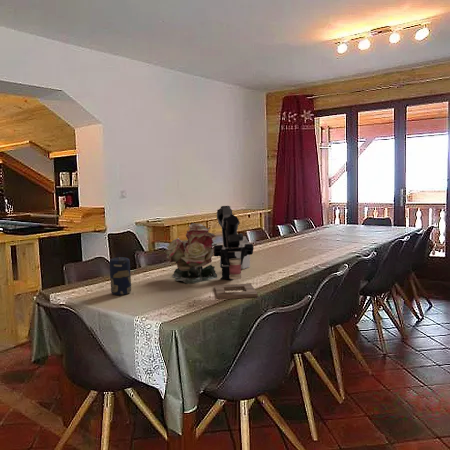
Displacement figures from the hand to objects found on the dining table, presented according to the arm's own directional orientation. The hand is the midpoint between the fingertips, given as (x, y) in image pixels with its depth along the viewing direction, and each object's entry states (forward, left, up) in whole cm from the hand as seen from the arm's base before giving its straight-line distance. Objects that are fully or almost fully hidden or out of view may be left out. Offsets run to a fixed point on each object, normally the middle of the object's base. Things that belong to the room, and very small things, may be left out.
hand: (235, 264), depth 205 cm
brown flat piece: (-1, +1, -13) cm, 14 cm away
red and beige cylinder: (-1, +1, -7) cm, 7 cm away
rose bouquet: (-36, +17, -14) cm, 42 cm away
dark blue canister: (-49, -25, -14) cm, 57 cm away
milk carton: (-27, +52, -14) cm, 60 cm away
